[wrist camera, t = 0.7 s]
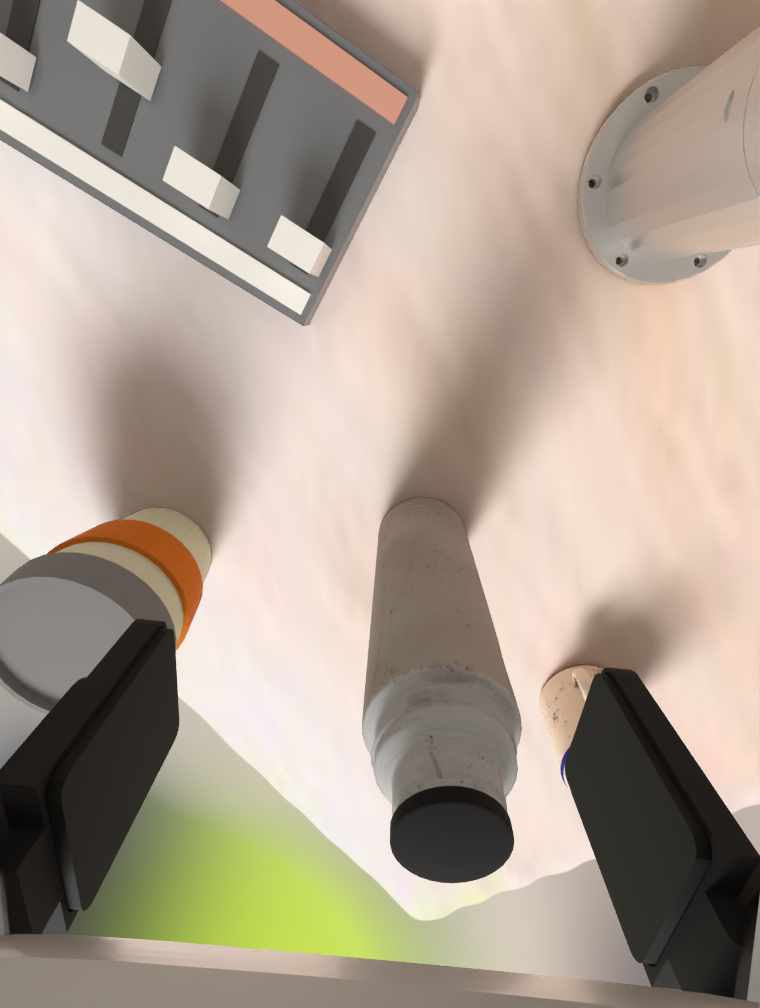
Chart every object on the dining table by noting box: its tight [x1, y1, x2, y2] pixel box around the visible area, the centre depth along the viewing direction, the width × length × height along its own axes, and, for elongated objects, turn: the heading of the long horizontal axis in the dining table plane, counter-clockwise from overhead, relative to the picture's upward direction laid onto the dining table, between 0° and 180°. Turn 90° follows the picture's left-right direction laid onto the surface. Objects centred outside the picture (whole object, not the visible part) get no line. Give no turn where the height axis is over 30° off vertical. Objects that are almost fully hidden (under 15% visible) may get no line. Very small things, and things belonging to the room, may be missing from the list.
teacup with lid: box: [540, 665, 603, 791], centre depth 45 cm, size 12×9×12 cm
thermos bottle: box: [362, 498, 522, 883], centre depth 32 cm, size 8×8×28 cm
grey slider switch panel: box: [0, 0, 419, 326], centre depth 31 cm, size 16×25×7 cm, turn 59°
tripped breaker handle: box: [67, 0, 161, 101], centre depth 29 cm, size 2×3×4 cm, turn 59°
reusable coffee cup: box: [0, 507, 212, 714], centre depth 40 cm, size 13×13×15 cm
